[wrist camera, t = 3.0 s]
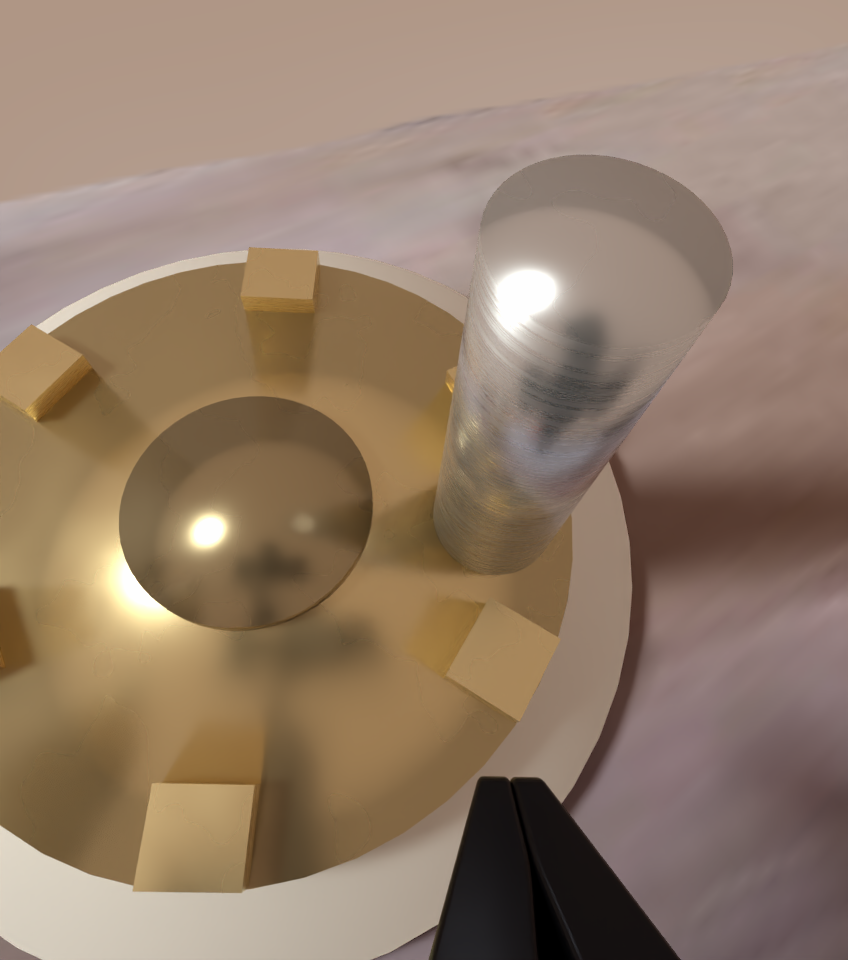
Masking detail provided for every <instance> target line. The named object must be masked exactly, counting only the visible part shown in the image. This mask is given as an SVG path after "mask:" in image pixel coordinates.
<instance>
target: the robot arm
mask: <svg viewBox="0 0 848 960" xmlns="http://www.w3.org/2000/svg"><path fill="white" fill-rule="evenodd" d="M429 960H681V959H680V958H679V957H678V956H677V954H676V953H675V952H674V950H673V949H672V948H671V946H670V945H669V944H668V942H667V941H666V940H665V938H664V937H663V936H662V935H661V933H660V932H659V931H658V929H657V928H656V927H655V925H654V924H653V923H652V921H651V920H650V919H649V918H648V916H647V915H646V914H645V912H644V911H643V910H642V908H641V907H640V906H639V904H638V903H637V902H636V901H635V899H634V898H633V897H632V895H631V894H630V893H629V891H628V890H627V889H626V887H625V886H624V885H623V884H622V882H621V881H620V880H619V878H618V877H617V876H616V874H615V873H614V872H613V870H612V869H611V868H610V867H609V865H608V864H607V863H606V861H605V860H604V859H603V857H602V856H601V855H600V853H599V852H598V851H597V850H596V848H595V847H594V846H593V844H592V843H591V842H590V840H589V839H588V838H587V836H586V835H585V834H584V833H583V831H582V830H581V829H580V827H579V826H578V825H577V823H576V822H575V821H574V819H573V818H572V817H571V816H570V814H569V813H568V812H567V810H566V809H565V808H564V806H563V805H562V804H561V802H560V801H559V800H558V799H557V797H556V796H555V795H554V793H553V792H552V791H551V789H550V788H549V787H548V785H547V784H546V783H545V782H544V781H543V780H542V779H541V778H538V777H513V778H512V779H511V780H510V781H509V779H508V778H507V777H504V776H481V777H479V779H478V780H477V783H476V787H475V791H474V794H473V798H472V802H471V805H470V809H469V813H468V816H467V820H466V824H465V827H464V831H463V835H462V838H461V842H460V846H459V850H458V853H457V857H456V861H455V864H454V868H453V872H452V875H451V879H450V883H449V886H448V890H447V894H446V897H445V901H444V905H443V908H442V912H441V916H440V919H439V923H438V927H437V931H436V934H435V938H434V942H433V945H432V949H431V953H430V956H429Z"/></svg>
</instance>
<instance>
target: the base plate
mask: <svg viewBox="0 0 848 960" xmlns="http://www.w3.org/2000/svg"><path fill="white" fill-rule="evenodd" d="M291 250H305V249H291ZM248 251H249V250H246V251H236V252H225V253H218V254H213V255H208V256H203V257H198V258H193V259H187V260H182V261H179V262H175V263H172V264H168V265H165V266H162V267H158V268H155V269H152V270H148V271H145V272H141V273H139V274H137V275H134V276H132V277H129V278H127V279H124V280H122V281H119V282H117V283H114V284H112V285H109V286H107V287H104V288H102V289H100V290H98V291H96V292H94V293H92V294H90V295H88V296H87V297H85V298H83V299H81V300H79V301H77V302H75V303H73V304H71V305H69V306H67V307H65V308H64V309H62V310H60V311H59V312H57V313H56V314H54V315H53V316H51V317H50V318H48V319H47V320H45V321H44V322H42V323H41V324H39V325H37V326H36V327H37V328H39V329H40V330H42V331H44V332H45V333H47V334H48V333H50V332H51V331H53V330H54V329H56V328H57V327H59V326H60V325H62V324H63V323H65V322H66V321H68V320H69V319H71V318H72V317H74V316H75V315H77V314H79V313H81V312H83V311H85V310H87V309H89V308H90V307H92V306H94V305H96V304H98V303H100V302H102V301H104V300H106V299H108V298H109V297H112V296H114V295H117V294H119V293H121V292H124V291H126V290H129V289H131V288H134V287H136V286H139V285H141V284H143V283H146V282H150V281H153V280H156V279H160V278H163V277H166V276H170V275H173V274H176V273H180V272H184V271H189V270H194V269H199V268H204V267H209V266H214V265H223V264H233V263H243V262H247V256H248ZM312 251H315V250H312ZM318 253H319V260H320V265H324V266H329V267H334V268H339V269H344V270H349V271H354V272H357V273H361V274H364V275H367V276H370V277H373V278H376V279H380V280H383V281H386V282H389V283H391V284H393V285H396V286H398V287H400V288H403V289H405V290H407V291H409V292H412V293H414V294H416V295H418V296H420V297H422V298H424V299H426V300H427V301H429V302H431V303H432V304H434V305H436V306H438V307H439V308H441V309H443V310H444V311H446V312H448V313H449V314H451V315H452V316H453V317H455V318H456V319H457V320H459V321H460V322H461V323H463V324H464V322H465V316H466V310H467V304H468V298H467V297H465V296H463V295H462V294H460V293H458V292H456V291H455V290H453V289H451V288H449V287H447V286H445V285H443V284H440V283H438V282H436V281H433V280H431V279H429V278H426V277H424V276H422V275H420V274H417V273H415V272H412V271H409V270H406V269H403V268H399V267H396V266H393V265H390V264H387V263H383V262H380V261H377V260H372V259H367V258H362V257H357V256H352V255H347V254H342V253H335V252H325V251H318ZM571 516H572V549H573V561H572V569H571V577H570V586H569V594H568V601H567V605H566V609H565V613H564V617H563V620H562V624H561V628H560V632H559V636H558V638H560V639H561V640H560V642H559V644H558V646H557V648H556V650H555V652H554V654H553V656H552V658H551V660H550V662H549V664H548V666H547V668H546V670H545V672H544V674H543V677H542V679H541V682H540V684H539V686H538V688H537V689H536V691H535V693H534V695H533V696H532V698H531V700H530V702H529V704H528V706H527V708H526V710H525V712H524V714H523V716H522V718H521V720H520V722H517V723H516V725H515V727H514V728H513V729H512V731H511V732H510V733H509V734H508V736H507V737H506V738H505V739H504V741H503V742H502V743H501V745H500V746H499V747H498V748H497V750H496V751H495V752H494V753H493V755H492V756H491V757H490V759H489V760H488V761H487V762H486V764H485V765H484V766H483V767H482V768H481V769H480V770H479V771H478V772H477V773H476V774H475V775H474V776H473V777H472V778H471V779H470V780H468V781H467V782H466V783H465V784H464V785H463V786H462V787H461V788H460V789H459V790H458V791H457V792H456V793H455V794H454V795H453V796H452V797H451V798H450V799H449V800H448V801H447V802H445V803H444V804H443V805H441V806H440V807H438V808H437V809H436V810H434V811H433V812H432V813H430V814H429V815H428V816H426V817H425V818H423V819H422V820H421V821H419V822H418V823H417V824H415V825H414V826H413V827H411V828H410V829H409V830H407V831H406V832H404V833H403V834H401V835H399V836H397V837H395V838H393V839H392V840H390V841H388V842H386V843H384V844H382V845H380V846H379V847H377V848H375V849H373V850H371V851H369V852H367V853H366V854H364V855H362V856H360V857H358V858H356V859H354V860H351V861H348V862H346V863H343V864H340V865H337V866H335V867H332V868H329V869H327V870H324V871H321V872H319V873H316V874H313V875H311V876H308V877H305V878H301V879H296V880H291V881H287V882H282V883H277V884H273V885H268V886H263V887H259V888H254V889H247V890H245V891H244V892H242V893H191V892H132V891H133V886H132V885H129V884H125V883H121V882H117V881H113V880H109V879H105V878H101V877H97V876H93V875H90V874H87V873H85V872H83V871H81V870H78V869H76V868H74V867H72V866H69V865H67V864H65V863H62V862H60V861H58V860H56V859H53V858H51V857H49V856H47V855H44V854H42V853H41V852H39V851H38V850H36V849H35V848H33V847H32V846H30V845H29V844H27V843H26V842H24V841H23V840H21V839H20V838H18V837H17V836H15V835H14V834H12V833H11V832H9V831H8V830H6V829H5V828H3V827H2V826H0V936H1V937H2V938H4V939H5V940H7V941H8V942H9V943H11V944H12V945H14V946H15V947H17V948H18V949H21V950H23V951H25V952H27V953H29V954H31V955H34V956H36V957H38V958H40V959H42V960H371V959H374V958H376V957H379V956H381V955H384V954H386V953H389V952H391V951H393V950H395V949H396V948H398V947H400V946H402V945H403V944H405V943H407V942H408V941H410V940H412V939H414V938H415V937H417V936H419V935H421V934H422V933H424V932H426V931H427V930H429V929H431V928H433V927H434V926H436V925H438V923H439V919H440V916H441V912H442V908H443V905H444V901H445V897H446V894H447V890H448V886H449V883H450V879H451V875H452V872H453V868H454V864H455V861H456V857H457V853H458V850H459V846H460V842H461V838H462V835H463V831H464V827H465V824H466V820H467V816H468V813H469V809H470V805H471V802H472V798H473V794H474V791H475V787H476V783H477V780H478V779H479V777H481V776H504V777H507V778H508V779H509V781H510V780H511V779H512V778H513V777H538V778H541V779H542V780H543V781H544V782H545V783H546V784H547V785H548V787H549V788H550V789H551V791H552V792H553V793H554V795H555V796H556V797H557V799H558V800H559V801H560V802H561V804H562V802H563V801H564V799H565V798H566V797H567V795H568V794H569V792H570V791H571V790H572V788H573V787H574V785H575V783H576V781H577V779H578V777H579V775H580V773H581V772H582V770H583V768H584V766H585V764H586V762H587V760H588V758H589V756H590V754H591V753H592V751H593V749H594V747H595V745H596V743H597V741H598V739H599V737H600V734H601V732H602V729H603V726H604V723H605V721H606V718H607V715H608V712H609V710H610V707H611V704H612V701H613V699H614V696H615V693H616V690H617V688H618V683H619V679H620V674H621V669H622V665H623V660H624V656H625V651H626V646H627V642H628V637H629V624H630V611H631V598H632V575H631V558H630V541H629V536H628V531H627V526H626V520H625V515H624V510H623V505H622V500H621V496H620V493H619V490H618V487H617V484H616V481H615V478H614V475H613V472H612V469H611V466H610V463H609V462H608V463H607V464H606V466H605V467H604V469H603V470H602V471H601V473H600V474H599V476H598V477H597V478H596V480H595V481H594V482H593V484H592V485H591V487H590V488H589V489H588V491H587V492H586V494H585V495H584V496H583V498H582V499H581V500H580V502H579V503H578V505H577V506H576V507H575V509H574V510H573V512H572V513H571Z"/></svg>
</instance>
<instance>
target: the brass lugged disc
mask: <svg viewBox="0 0 848 960" xmlns="http://www.w3.org/2000/svg"><path fill="white" fill-rule="evenodd" d="M732 275H733V259H732V253H731V248H730V245H729V242H728V239H727V236H726V234H725V232H724V230H723V228H722V226H721V224H720V223H719V221H718V220H717V218H716V217H715V216H714V214H713V213H712V212H711V210H710V209H709V208H708V207H707V206H706V205H705V204H704V202H702V201H701V200H700V199H699V198H698V197H697V196H696V195H695V194H694V193H693V192H691V191H690V190H689V189H687V188H686V187H685V186H683V185H682V184H680V183H679V182H677V181H675V180H674V179H672V178H671V177H669V176H667V175H665V174H663V173H661V172H659V171H657V170H655V169H652V168H650V167H647V166H644V165H642V164H639V163H636V162H632V161H628V160H625V159H620V158H615V157H609V156H600V155H571V156H562V157H557V158H551V159H548V160H544V161H541V162H537V163H535V164H533V165H530V166H528V167H526V168H524V169H522V170H520V171H519V172H517V173H515V174H514V175H512V176H511V177H510V178H508V179H507V180H506V181H505V182H503V183H502V185H501V186H500V187H499V188H498V189H497V190H496V191H495V192H494V194H493V195H492V197H491V198H490V200H489V201H488V203H487V206H486V208H485V210H484V213H483V217H482V221H481V225H480V231H479V237H478V243H477V249H476V255H475V262H474V268H473V274H472V280H471V286H470V292H469V298H468V304H467V310H466V316H465V322H464V324H463V323H461V322H460V321H459V320H457V319H456V318H455V317H453V316H452V315H451V314H449V313H448V312H446V311H444V310H443V309H441V308H439V307H438V306H436V305H434V304H432V303H431V302H429V301H427V300H426V299H424V298H422V297H420V296H418V295H416V294H414V293H412V292H409V291H407V290H405V289H403V288H400V287H398V286H396V285H393V284H391V283H389V282H386V281H383V280H380V279H376V278H373V277H370V276H367V275H364V274H361V273H357V272H354V271H349V270H344V269H339V268H334V267H329V266H324V265H320V260H319V253H318V251H312V250H291V249H271V248H251V247H249V251H248V256H247V262H243V263H233V264H223V265H214V266H209V267H204V268H199V269H194V270H189V271H184V272H180V273H176V274H173V275H170V276H166V277H163V278H160V279H156V280H153V281H150V282H146V283H143V284H141V285H139V286H136V287H134V288H131V289H129V290H126V291H124V292H121V293H119V294H117V295H114V296H112V297H109V298H108V299H106V300H104V301H102V302H100V303H98V304H96V305H94V306H92V307H90V308H89V309H87V310H85V311H83V312H81V313H79V314H77V315H75V316H74V317H72V318H71V319H69V320H68V321H66V322H65V323H63V324H62V325H60V326H59V327H57V328H56V329H54V330H53V331H51V332H50V333H48V334H47V333H45V332H44V331H42V330H40V329H39V328H37V327H35V326H33V325H32V324H31V325H30V326H29V327H28V328H27V329H26V330H25V331H24V332H22V333H21V334H20V335H19V336H18V337H17V338H16V339H15V340H13V341H12V342H11V343H10V344H9V345H8V346H7V347H6V348H4V349H3V350H2V351H1V352H0V826H2V827H3V828H5V829H6V830H8V831H9V832H11V833H12V834H14V835H15V836H17V837H18V838H20V839H21V840H23V841H24V842H26V843H27V844H29V845H30V846H32V847H33V848H35V849H36V850H38V851H39V852H41V853H42V854H44V855H47V856H49V857H51V858H53V859H56V860H58V861H60V862H62V863H65V864H67V865H69V866H72V867H74V868H76V869H78V870H81V871H83V872H85V873H87V874H90V875H93V876H97V877H101V878H105V879H109V880H113V881H117V882H121V883H125V884H129V885H132V886H133V891H132V892H191V893H242V892H244V891H245V890H247V889H254V888H259V887H263V886H268V885H273V884H277V883H282V882H287V881H291V880H296V879H301V878H305V877H308V876H311V875H313V874H316V873H319V872H321V871H324V870H327V869H329V868H332V867H335V866H337V865H340V864H343V863H346V862H348V861H351V860H354V859H356V858H358V857H360V856H362V855H364V854H366V853H367V852H369V851H371V850H373V849H375V848H377V847H379V846H380V845H382V844H384V843H386V842H388V841H390V840H392V839H393V838H395V837H397V836H399V835H401V834H403V833H404V832H406V831H407V830H409V829H410V828H411V827H413V826H414V825H415V824H417V823H418V822H419V821H421V820H422V819H423V818H425V817H426V816H428V815H429V814H430V813H432V812H433V811H434V810H436V809H437V808H438V807H440V806H441V805H443V804H444V803H445V802H447V801H448V800H449V799H450V798H451V797H452V796H453V795H454V794H455V793H456V792H457V791H458V790H459V789H460V788H461V787H462V786H463V785H464V784H465V783H466V782H467V781H468V780H470V779H471V778H472V777H473V776H474V775H475V774H476V773H477V772H478V771H479V770H480V769H481V768H482V767H483V766H484V765H485V764H486V762H487V761H488V760H489V759H490V757H491V756H492V755H493V753H494V752H495V751H496V750H497V748H498V747H499V746H500V745H501V743H502V742H503V741H504V739H505V738H506V737H507V736H508V734H509V733H510V732H511V731H512V729H513V728H514V727H515V725H516V723H517V722H520V720H521V718H522V716H523V714H524V712H525V710H526V708H527V706H528V704H529V702H530V700H531V698H532V696H533V695H534V693H535V691H536V689H537V688H538V686H539V684H540V682H541V679H542V677H543V674H544V672H545V670H546V668H547V666H548V664H549V662H550V660H551V658H552V656H553V654H554V652H555V650H556V648H557V646H558V644H559V642H560V640H561V639H560V638H558V636H559V632H560V628H561V624H562V620H563V617H564V613H565V609H566V605H567V601H568V594H569V586H570V577H571V569H572V561H573V549H572V516H571V513H572V512H573V510H574V509H575V507H576V506H577V505H578V503H579V502H580V500H581V499H582V498H583V496H584V495H585V494H586V492H587V491H588V489H589V488H590V487H591V485H592V484H593V482H594V481H595V480H596V478H597V477H598V476H599V474H600V473H601V471H602V470H603V469H604V467H605V466H606V464H607V463H608V462H609V460H610V459H611V458H612V456H613V455H614V453H615V452H616V451H617V449H618V448H619V446H620V445H621V444H622V442H623V441H624V440H625V438H626V437H627V435H628V434H629V433H630V431H631V430H632V428H633V427H634V426H635V424H636V423H637V422H638V420H639V419H640V417H641V416H642V415H643V413H644V412H645V410H646V409H647V408H648V406H649V405H650V404H651V402H652V401H653V399H654V398H655V397H656V395H657V394H658V392H659V391H660V390H661V388H662V387H663V386H664V384H665V383H666V381H667V380H668V379H669V377H670V376H671V374H672V373H673V372H674V370H675V369H676V368H677V366H678V365H679V363H680V362H681V361H682V359H683V358H684V356H685V355H686V354H687V352H688V351H689V350H690V348H691V347H692V345H693V344H694V343H695V341H696V340H697V338H698V337H699V336H700V334H701V333H702V332H703V330H704V329H705V327H706V326H707V325H708V323H709V322H710V320H711V319H712V318H713V316H714V315H715V314H716V312H717V311H718V309H719V308H720V306H721V305H722V303H723V302H724V300H725V298H726V296H727V294H728V291H729V288H730V286H731V281H732Z"/></svg>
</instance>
